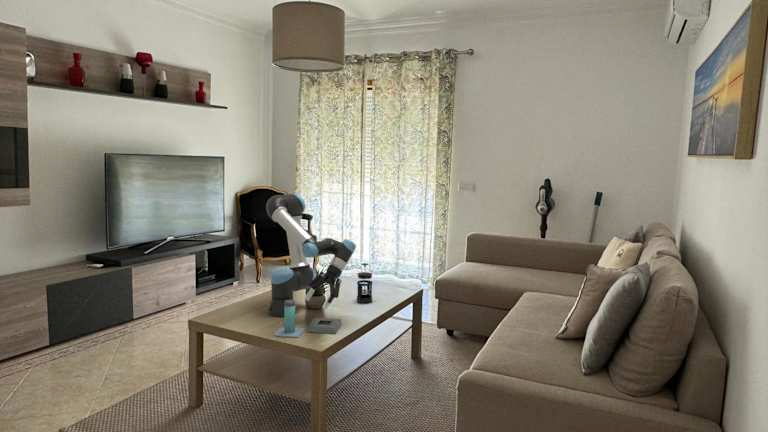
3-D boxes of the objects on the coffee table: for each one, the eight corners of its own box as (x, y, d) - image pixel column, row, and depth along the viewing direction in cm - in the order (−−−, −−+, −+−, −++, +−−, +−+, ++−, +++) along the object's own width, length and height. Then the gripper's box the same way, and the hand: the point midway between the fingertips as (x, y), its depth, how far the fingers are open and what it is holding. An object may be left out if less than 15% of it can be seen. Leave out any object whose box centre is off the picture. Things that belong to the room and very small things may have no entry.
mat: (273, 336, 254) (273, 334, 253) (281, 328, 265) (281, 326, 265) (298, 338, 252) (298, 336, 252) (305, 329, 264) (305, 328, 264)
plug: (283, 332, 256) (283, 302, 255) (286, 329, 261) (286, 299, 260) (293, 333, 256) (293, 302, 254) (296, 330, 261) (296, 300, 259)
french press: (362, 298, 323) (363, 261, 320) (375, 300, 318) (376, 263, 315) (352, 303, 312) (352, 264, 310) (365, 305, 308) (366, 266, 305)
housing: (307, 332, 261) (307, 326, 260) (314, 323, 274) (314, 317, 274) (335, 333, 259) (335, 327, 258) (341, 324, 272) (341, 319, 272)
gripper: (357, 277, 267) (336, 314, 261) (324, 264, 283) (303, 299, 277) (349, 270, 262) (327, 308, 256) (316, 258, 278) (295, 293, 272)
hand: (315, 304), depth 267 cm, fingers open, 13 cm apart
